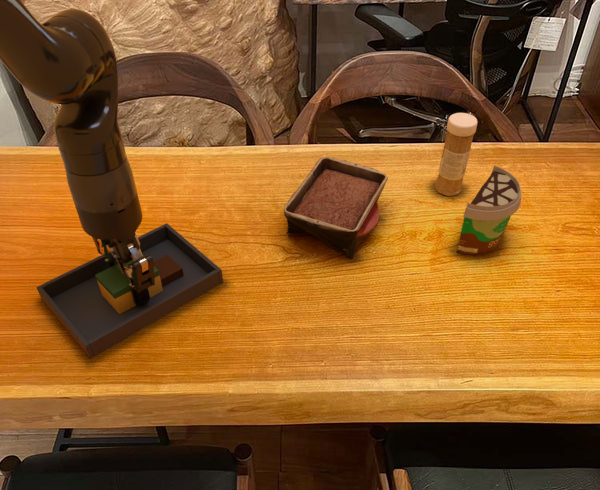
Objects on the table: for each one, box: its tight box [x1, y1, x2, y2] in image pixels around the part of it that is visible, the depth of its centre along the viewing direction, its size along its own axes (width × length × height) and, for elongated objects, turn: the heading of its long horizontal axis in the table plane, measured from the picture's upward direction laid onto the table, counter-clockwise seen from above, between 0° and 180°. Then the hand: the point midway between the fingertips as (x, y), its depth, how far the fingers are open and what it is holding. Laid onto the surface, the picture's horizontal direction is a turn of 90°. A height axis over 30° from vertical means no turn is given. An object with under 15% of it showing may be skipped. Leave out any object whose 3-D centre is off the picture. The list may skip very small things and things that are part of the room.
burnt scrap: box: [153, 255, 184, 287], centre depth 85 cm, size 4×4×2 cm
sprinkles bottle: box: [435, 112, 478, 197], centre depth 97 cm, size 5×5×14 cm
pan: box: [35, 222, 224, 359], centre depth 83 cm, size 21×14×3 cm
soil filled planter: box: [283, 156, 389, 259], centre depth 92 cm, size 14×18×10 cm
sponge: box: [95, 260, 163, 314], centre depth 82 cm, size 7×5×4 cm
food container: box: [456, 165, 522, 257], centre depth 88 cm, size 12×6×10 cm, turn 148°
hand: (132, 291), depth 83 cm, fingers closed on sponge, 5 cm apart
